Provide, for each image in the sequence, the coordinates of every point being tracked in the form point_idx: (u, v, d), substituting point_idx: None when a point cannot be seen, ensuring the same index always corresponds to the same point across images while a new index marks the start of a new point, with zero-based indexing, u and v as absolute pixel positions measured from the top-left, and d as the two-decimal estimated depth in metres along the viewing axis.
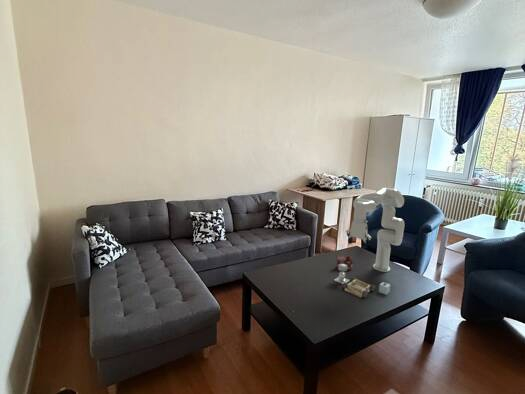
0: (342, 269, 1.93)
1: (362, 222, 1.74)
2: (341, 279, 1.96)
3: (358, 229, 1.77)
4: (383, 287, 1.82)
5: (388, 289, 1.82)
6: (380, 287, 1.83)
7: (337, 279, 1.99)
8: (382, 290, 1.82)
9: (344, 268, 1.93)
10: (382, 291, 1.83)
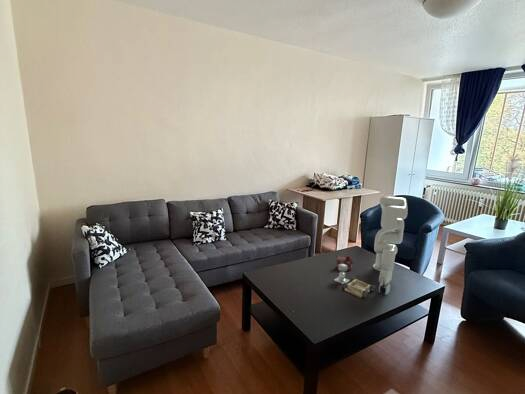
0: (342, 269, 1.93)
1: None
2: (341, 279, 1.96)
3: (390, 274, 1.81)
4: None
5: (388, 289, 1.82)
6: None
7: (337, 279, 1.99)
8: None
9: (344, 268, 1.93)
10: None
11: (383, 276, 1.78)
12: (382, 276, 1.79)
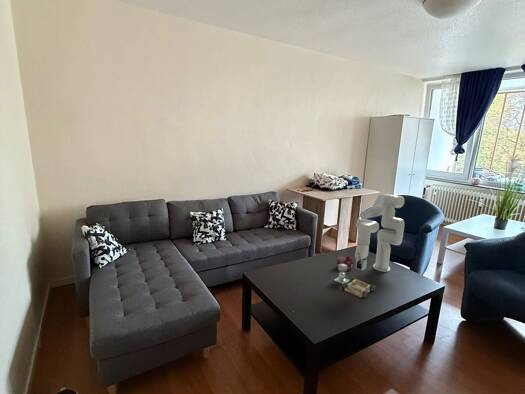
0: (342, 269, 1.93)
1: None
2: (341, 279, 1.96)
3: (366, 250, 1.80)
4: None
5: (364, 265, 1.81)
6: None
7: (337, 279, 1.99)
8: None
9: (344, 268, 1.93)
10: None
11: (359, 251, 1.77)
12: (358, 251, 1.78)
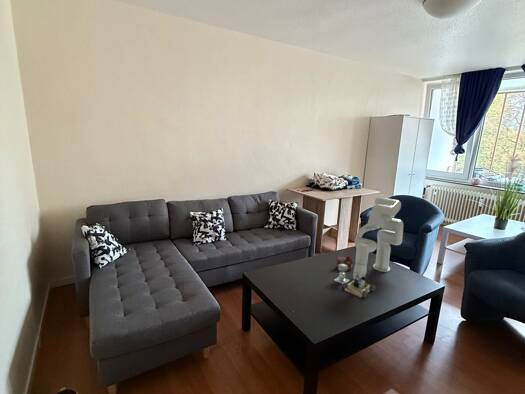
0: (342, 269, 1.93)
1: None
2: (341, 279, 1.96)
3: (364, 269, 1.82)
4: None
5: (362, 285, 1.84)
6: None
7: (337, 279, 1.99)
8: None
9: (344, 268, 1.93)
10: None
11: (357, 271, 1.80)
12: (356, 271, 1.81)
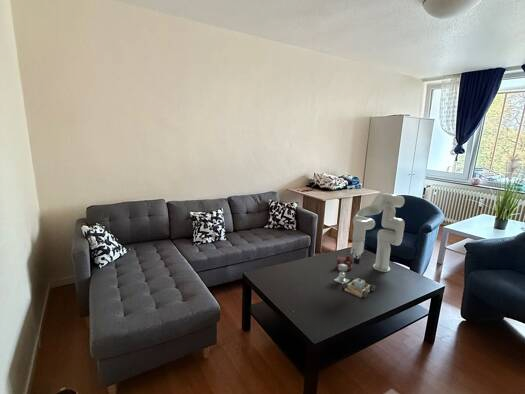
0: (342, 269, 1.93)
1: None
2: (341, 279, 1.96)
3: (361, 246, 1.82)
4: (357, 283, 1.84)
5: (362, 285, 1.84)
6: (355, 283, 1.85)
7: (337, 279, 1.99)
8: (357, 286, 1.85)
9: (344, 268, 1.93)
10: (357, 287, 1.85)
11: (354, 247, 1.80)
12: (354, 248, 1.80)
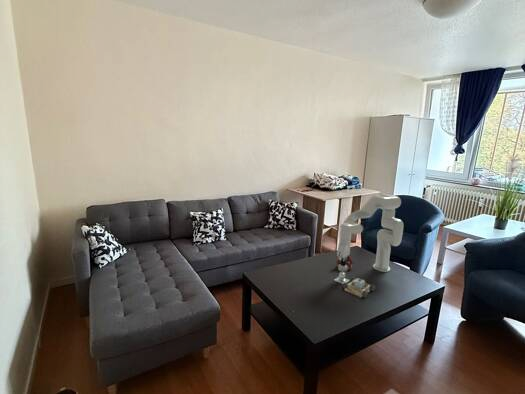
0: (342, 269, 1.93)
1: None
2: (341, 279, 1.96)
3: (347, 249, 1.92)
4: (357, 283, 1.84)
5: (362, 285, 1.84)
6: (355, 283, 1.85)
7: (337, 279, 1.99)
8: (357, 286, 1.85)
9: (344, 268, 1.93)
10: (357, 287, 1.85)
11: (340, 250, 1.89)
12: (340, 250, 1.90)
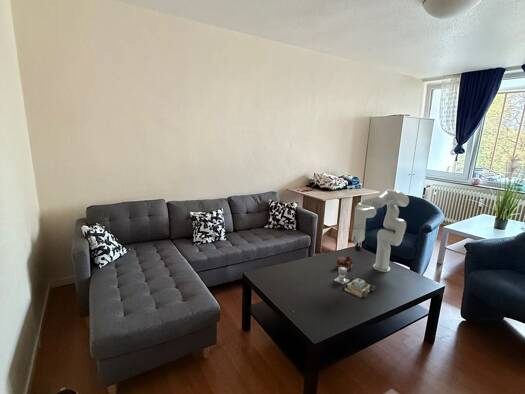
0: (342, 272, 1.94)
1: None
2: (341, 279, 1.96)
3: (362, 234, 1.88)
4: (357, 283, 1.84)
5: (362, 285, 1.84)
6: (355, 283, 1.85)
7: (337, 279, 1.99)
8: (357, 286, 1.85)
9: (344, 271, 1.93)
10: (357, 287, 1.85)
11: (355, 235, 1.86)
12: (354, 235, 1.86)
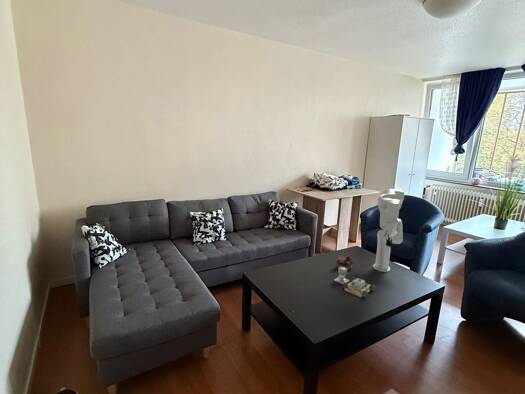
0: (342, 272, 1.94)
1: None
2: (341, 279, 1.96)
3: (394, 228, 1.83)
4: (357, 283, 1.84)
5: (362, 285, 1.84)
6: (355, 283, 1.85)
7: (337, 279, 1.99)
8: (357, 286, 1.85)
9: (344, 271, 1.93)
10: (357, 287, 1.85)
11: (387, 229, 1.81)
12: (387, 229, 1.82)
